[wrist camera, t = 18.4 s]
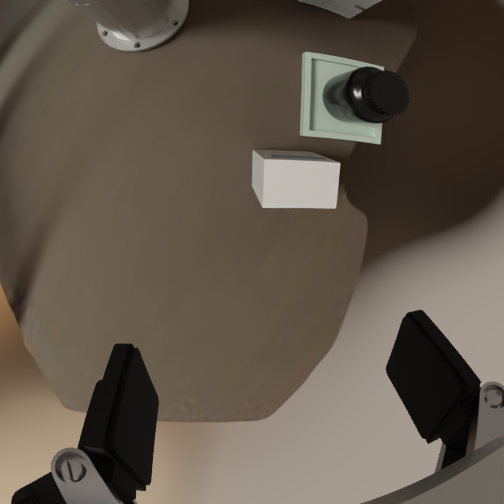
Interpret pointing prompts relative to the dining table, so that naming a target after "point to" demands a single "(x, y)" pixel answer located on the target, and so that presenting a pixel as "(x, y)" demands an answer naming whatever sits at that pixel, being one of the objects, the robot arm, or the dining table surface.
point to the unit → (294, 179)
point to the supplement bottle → (365, 95)
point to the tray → (312, 107)
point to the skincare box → (343, 6)
